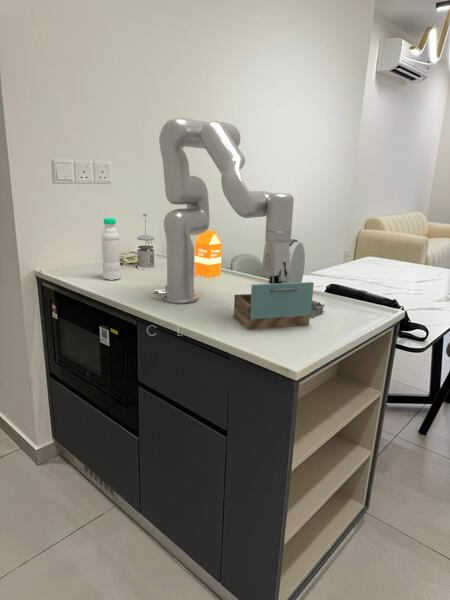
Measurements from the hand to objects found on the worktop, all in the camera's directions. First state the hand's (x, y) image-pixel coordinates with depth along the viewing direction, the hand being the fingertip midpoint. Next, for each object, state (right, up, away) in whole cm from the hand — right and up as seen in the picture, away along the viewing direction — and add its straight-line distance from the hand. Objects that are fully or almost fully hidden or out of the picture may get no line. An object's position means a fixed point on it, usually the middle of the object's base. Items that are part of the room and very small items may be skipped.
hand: (274, 296), depth 135 cm
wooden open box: (-1, -8, +3) cm, 8 cm away
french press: (-52, +14, +75) cm, 92 cm away
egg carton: (+13, -6, +13) cm, 19 cm away
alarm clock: (+10, +3, +44) cm, 45 cm away
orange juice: (-23, +10, +61) cm, 66 cm away
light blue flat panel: (+1, -6, -4) cm, 7 cm away
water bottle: (-62, +8, +50) cm, 80 cm away
